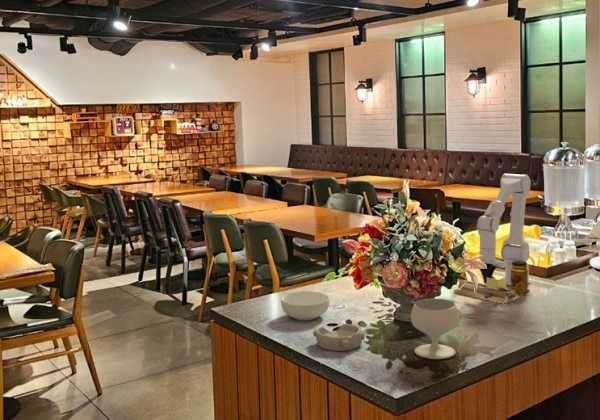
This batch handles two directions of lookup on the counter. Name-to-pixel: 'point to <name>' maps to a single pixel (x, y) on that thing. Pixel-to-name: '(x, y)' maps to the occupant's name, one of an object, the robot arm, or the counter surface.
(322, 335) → the dish
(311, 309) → the cereal bowl
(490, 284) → the pale yellow cube
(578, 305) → the counter surface
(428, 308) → the chalice
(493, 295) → the wooden tray
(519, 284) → the condiment
